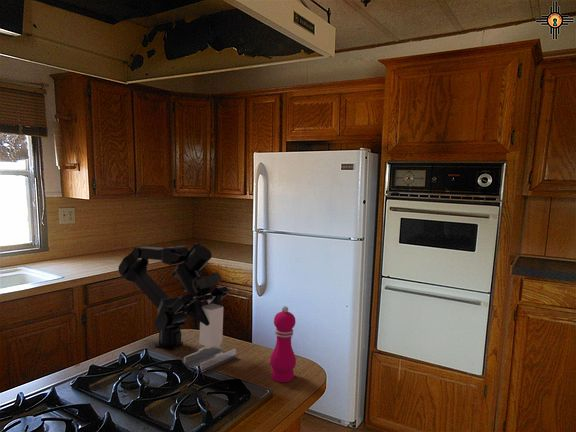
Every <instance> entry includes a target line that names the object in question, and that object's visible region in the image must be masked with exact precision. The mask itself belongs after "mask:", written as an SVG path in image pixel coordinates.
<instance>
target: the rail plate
mask: <svg viewBox="0 0 576 432" xmlns="http://www.w3.org/2000/svg"><path fill="white" fill-rule="evenodd" d="M236 358H237V348H233V349H230V350H228V351H227V350H223V349H222V348H221V344H218V345H216V346H213V347H211V348H209V347H207V346H204V347H201V348H199V349H198V350H197V351H195V352H193V353H190V354H188V355H186V356H183V363H184V364H185V365H188V366H192V367H194V366H197V365H198V366H200V368H201V370H202V371H204V370H208V371H210V370H212V369H214V368H216V367H219V366H221V365H223V364H225V363H227V362H230V361H232V360H234V359H236ZM183 363H182V364H183Z"/></svg>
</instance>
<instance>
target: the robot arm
mask: <svg viewBox="0 0 576 432" xmlns="http://www.w3.org/2000/svg"><path fill="white" fill-rule="evenodd" d="M212 255H213V254H212V252H211V251H210V249H209V248H207V247H205V246H203V245H202V244H201V243H200V242H197V243H194V244H193V245H192V246H191V248H190V249H189V248H188V247H187V246H186V245H176V246H168V247H158V246H157V247H156V246H148V245H142V246H136V247H134V248H133V249H132V250H131V252H130V253H128V255H126V256H125V257H123V259H122V260H121V262H120V264H119V265H118V273H119V275H120V276H121V277H122V278H123V279H124V280H126V281H128V282H132V283H134V284H136V286H137V287H138V288H139V289H140V290H141V291H142V293H143V294H144V295H145V296H146V297H147V298H148V299H149V301H150V302H151V303H152V304H153V305H154V307H156V309H157V317H156V318H155V320H154V321H153V324H154V325H153V326H154V329H155V330H158V343H156V344H155V345H154V346H155V347H157V348H161V349H165V350H168V351H171V350H174V349H176V348H178V347H180V346H182V345H184V342H183V341H182V331H181V330H182V329H181V326H185V324H186V321H187V320H188V319H187V317H188V316H190V317H193V318H194V319H196V320H198V321H199V323H200V322H202V323H203V324H205V325H206V326H208V325H209V321H208V319H207V317H206V315H205V313H204V311H203V309H202V302H205V301H207V303H208V305H209V304H212V303H213V304H217V305H220V306H221V301H222V300H223V299H224V298H225V297H226V296H227V295H228V294H229V293H230V291H229V289H228V287H227V286H225V285H221V286H219V285H220V282H222V276H221V275H220V273H219V272H218V271H215V272H213V273H211V274H210V275H207V276H203V275H201V276H200V274H199V271H201V270H202V269H203V268H204V267H205V266H206V265H207V263H208V262H209V261H210V260H211V259H212ZM149 260H158V261H161V262H162V263H163V264H165V265H168V266H173V265H177V266H176V267H174V268H173V272H172V274H171V276H172V278H174V277H175V278H176V277H178V279H179V281H180V283H181V285H182V286H183V287H182V288H181V290H182V292H183V293H185V292H186V294H182V295H179V296H174V297H170V296H169V295H168V294H166V292H165V291H164V289H162V288H161V287H160V286H159V285H158V283H157V282H156V281H155V280H154V279H153V278H152V277H151V276H150V275H149V274H148V265H149V263H150V262H149ZM213 287H215V288H214V289H213Z"/></svg>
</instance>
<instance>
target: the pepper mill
mask: <svg viewBox="0 0 576 432" xmlns="http://www.w3.org/2000/svg"><path fill="white" fill-rule="evenodd" d="M296 322H297V321H296V317H295V315H294V314H293V313H291V312H289V307H288V306H287V305H284V306H282V308H281V311H279V312H277V313H276V314H275V315H274V318H273V325H274V327H275V330H274V332H275V333H274V334H275V336H276V341H275V343H276V344H275V346H274V349H273V351H272V353H271V356H270V358H269V364H270V367H271V368H272V369H271V372H270V373H271V374H270V378H271V380H272V381H275V382H278V383H288V382H291V381H293V380H294V376H295V375H294V374H295V371H294V369H295V368H296V365H297V359H296V355H295V352H294V350H293V347H292V337H293V335H294V329H293V328H295V325H296Z"/></svg>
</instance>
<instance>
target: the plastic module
mask: <svg viewBox="0 0 576 432" xmlns="http://www.w3.org/2000/svg"><path fill="white" fill-rule="evenodd" d="M201 307H202V309H203V311H204V313H205V315H206V317H207V319H208V321H209V325H208V326H206V325H205V324H203V323H202V322H200V321H199V342H198V344H199V345H201V346H204V347H207V348H208V347H209V348H211V347H213V346H216V345H218V344H220V345H221V344H222V343H223V332H224V329H223V328H224V326H223V325H224V306H222V305H221V304H220V305H217V304H213V303H212V304H209V303H208V304H205V305H201Z"/></svg>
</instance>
